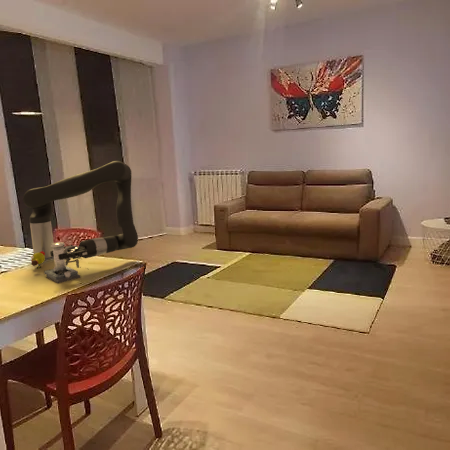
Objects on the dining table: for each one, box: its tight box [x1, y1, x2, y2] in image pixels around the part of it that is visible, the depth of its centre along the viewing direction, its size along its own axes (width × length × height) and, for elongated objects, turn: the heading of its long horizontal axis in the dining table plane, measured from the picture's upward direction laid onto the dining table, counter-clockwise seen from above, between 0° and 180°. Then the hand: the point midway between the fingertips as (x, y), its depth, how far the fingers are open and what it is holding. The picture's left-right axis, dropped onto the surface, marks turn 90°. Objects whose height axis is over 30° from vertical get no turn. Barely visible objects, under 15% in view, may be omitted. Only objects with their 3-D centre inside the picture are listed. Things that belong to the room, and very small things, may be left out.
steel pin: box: [51, 241, 67, 274], centre depth 163 cm, size 5×5×14 cm
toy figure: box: [30, 251, 46, 269], centre depth 179 cm, size 18×6×7 cm, turn 13°
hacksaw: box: [65, 257, 89, 270], centre depth 182 cm, size 24×10×2 cm, turn 19°
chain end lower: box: [46, 271, 81, 284], centre depth 163 cm, size 11×9×3 cm
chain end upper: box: [44, 265, 79, 279], centre depth 165 cm, size 11×9×3 cm
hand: (54, 255), depth 161 cm, fingers open, 7 cm apart
